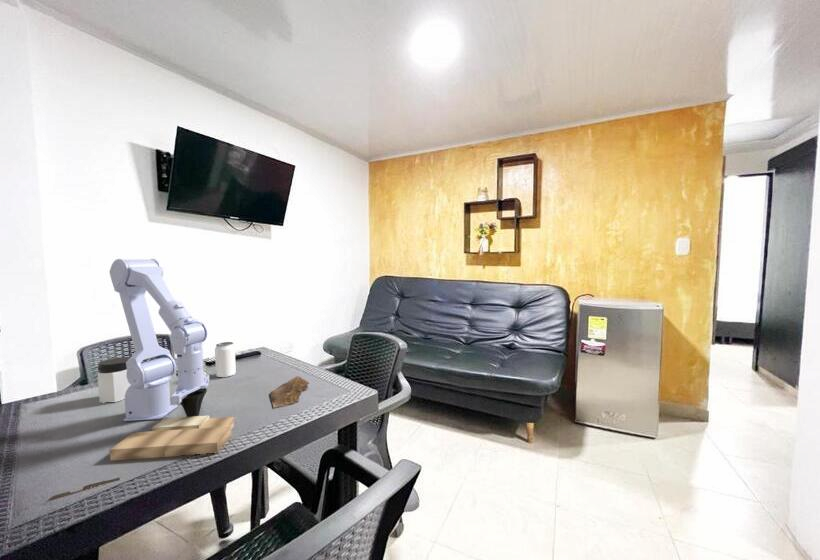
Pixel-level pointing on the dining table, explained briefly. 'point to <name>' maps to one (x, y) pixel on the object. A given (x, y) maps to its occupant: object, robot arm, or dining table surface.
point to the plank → (180, 423)
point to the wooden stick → (83, 489)
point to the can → (225, 359)
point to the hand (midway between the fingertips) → (193, 418)
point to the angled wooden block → (175, 441)
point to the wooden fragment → (288, 392)
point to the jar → (113, 379)
